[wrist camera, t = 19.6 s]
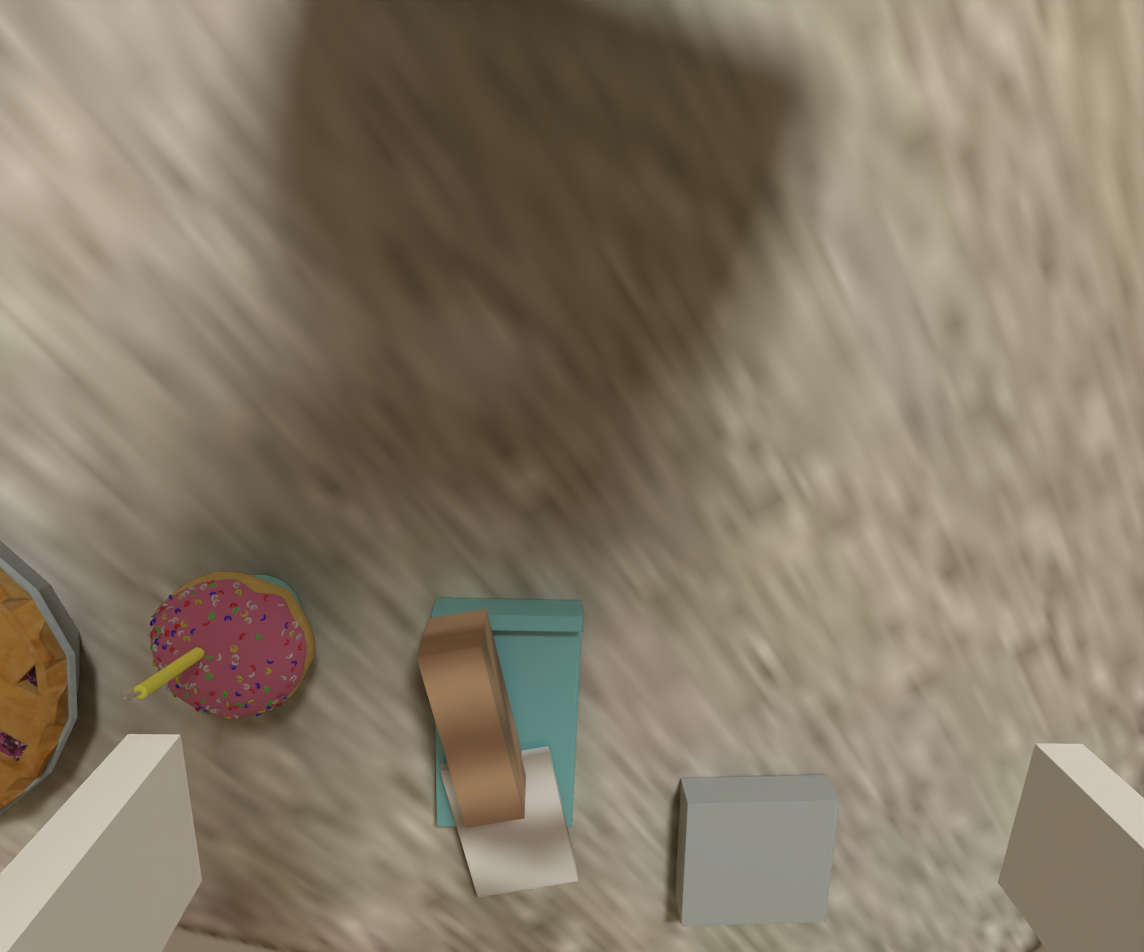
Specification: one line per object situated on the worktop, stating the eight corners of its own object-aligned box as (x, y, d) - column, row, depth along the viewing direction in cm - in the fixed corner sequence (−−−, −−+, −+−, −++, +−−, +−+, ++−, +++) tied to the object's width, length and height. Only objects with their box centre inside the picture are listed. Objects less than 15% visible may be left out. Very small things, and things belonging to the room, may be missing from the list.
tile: (687, 803, 44) (681, 926, 47) (840, 800, 45) (825, 921, 47) (680, 775, 47) (674, 892, 50) (823, 772, 47) (810, 888, 50)
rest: (436, 597, 43) (431, 613, 40) (581, 600, 43) (583, 616, 41) (439, 812, 47) (434, 837, 45) (571, 813, 47) (572, 838, 45)
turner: (399, 623, 41) (384, 663, 37) (515, 603, 40) (512, 640, 37) (478, 889, 48) (472, 945, 44) (577, 873, 47) (580, 928, 44)
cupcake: (165, 605, 42) (22, 726, 30) (258, 516, 41) (145, 606, 29) (272, 694, 44) (176, 839, 32) (364, 611, 43) (298, 731, 31)
